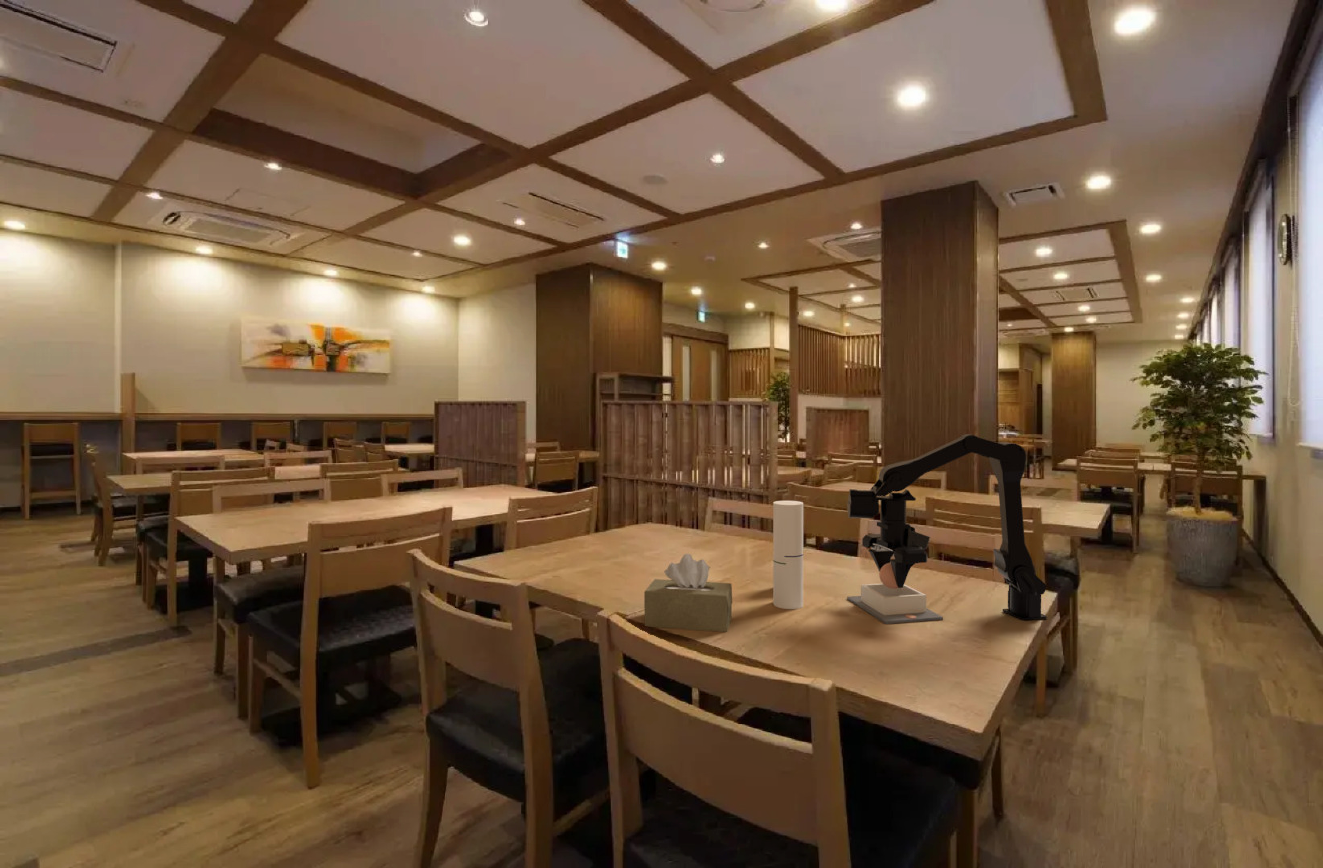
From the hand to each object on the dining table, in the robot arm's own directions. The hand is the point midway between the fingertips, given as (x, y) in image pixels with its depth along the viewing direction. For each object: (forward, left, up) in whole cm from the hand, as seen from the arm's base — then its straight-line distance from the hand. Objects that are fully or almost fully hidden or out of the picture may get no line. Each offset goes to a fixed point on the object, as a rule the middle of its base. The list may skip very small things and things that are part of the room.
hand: (892, 583), depth 144 cm
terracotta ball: (0, 0, +2) cm, 2 cm away
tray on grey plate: (0, 0, -6) cm, 6 cm away
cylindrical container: (+8, +23, -6) cm, 25 cm away
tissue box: (+1, +49, -6) cm, 50 cm away
